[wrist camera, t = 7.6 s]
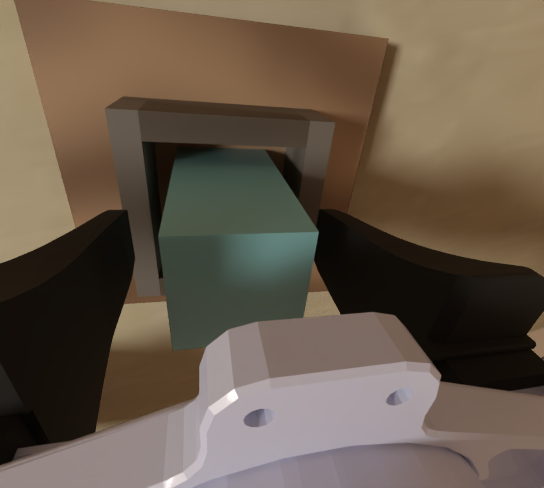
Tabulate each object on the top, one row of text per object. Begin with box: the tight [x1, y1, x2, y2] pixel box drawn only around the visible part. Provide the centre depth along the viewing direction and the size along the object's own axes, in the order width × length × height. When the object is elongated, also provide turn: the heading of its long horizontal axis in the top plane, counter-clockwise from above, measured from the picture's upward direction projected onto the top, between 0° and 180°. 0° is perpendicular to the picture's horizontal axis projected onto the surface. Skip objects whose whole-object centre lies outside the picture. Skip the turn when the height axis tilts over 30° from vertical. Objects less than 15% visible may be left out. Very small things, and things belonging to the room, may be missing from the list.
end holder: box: [14, 0, 388, 304], centre depth 15 cm, size 14×14×4 cm
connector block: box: [158, 147, 319, 351], centre depth 12 cm, size 4×4×8 cm
